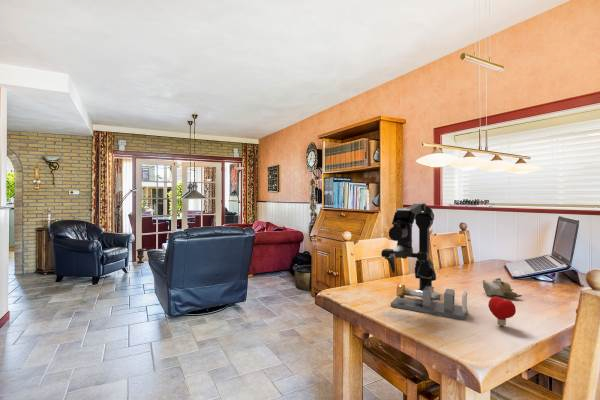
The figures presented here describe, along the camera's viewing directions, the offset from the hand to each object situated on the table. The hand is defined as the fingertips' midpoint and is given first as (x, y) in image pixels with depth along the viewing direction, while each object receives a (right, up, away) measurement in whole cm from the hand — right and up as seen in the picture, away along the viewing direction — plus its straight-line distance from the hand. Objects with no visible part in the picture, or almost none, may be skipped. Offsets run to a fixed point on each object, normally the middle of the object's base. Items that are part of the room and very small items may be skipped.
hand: (404, 274), depth 138 cm
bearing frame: (+9, -14, -3) cm, 16 cm away
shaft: (+6, -11, -1) cm, 12 cm away
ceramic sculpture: (+49, -14, +15) cm, 53 cm away
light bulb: (+28, -14, -21) cm, 38 cm away
